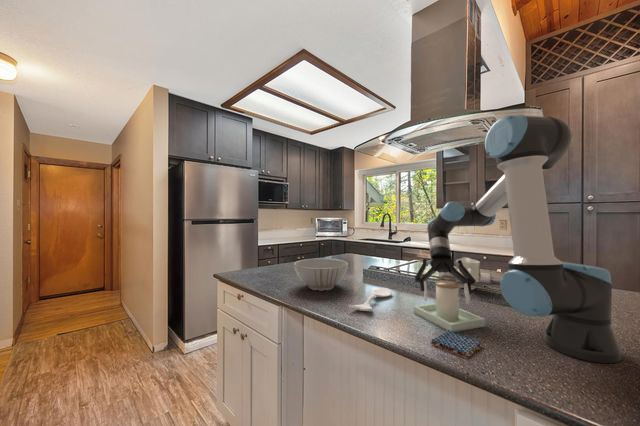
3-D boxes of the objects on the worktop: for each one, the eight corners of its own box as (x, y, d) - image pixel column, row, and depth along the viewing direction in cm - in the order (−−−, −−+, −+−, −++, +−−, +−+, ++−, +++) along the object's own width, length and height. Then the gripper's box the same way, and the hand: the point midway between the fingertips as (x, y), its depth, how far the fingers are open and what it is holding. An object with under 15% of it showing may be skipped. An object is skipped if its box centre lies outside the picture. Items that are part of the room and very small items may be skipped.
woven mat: (428, 346, 80) (428, 339, 80) (446, 335, 86) (446, 328, 86) (466, 361, 72) (466, 353, 72) (483, 348, 78) (483, 341, 78)
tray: (485, 326, 92) (485, 318, 92) (451, 332, 87) (451, 324, 87) (443, 308, 108) (443, 301, 108) (413, 313, 104) (413, 306, 104)
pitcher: (457, 293, 128) (457, 263, 128) (453, 283, 145) (453, 256, 145) (484, 295, 125) (484, 264, 125) (477, 285, 142) (477, 257, 141)
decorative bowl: (330, 299, 121) (330, 271, 121) (282, 289, 135) (282, 264, 135) (357, 285, 143) (357, 261, 143) (314, 278, 158) (313, 256, 158)
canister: (464, 319, 96) (463, 284, 95) (446, 323, 93) (446, 286, 93) (447, 312, 102) (447, 279, 102) (431, 315, 100) (430, 281, 100)
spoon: (347, 313, 105) (347, 304, 104) (375, 291, 132) (375, 284, 132) (370, 318, 100) (370, 308, 100) (394, 294, 128) (394, 287, 128)
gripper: (473, 257, 111) (484, 308, 96) (407, 255, 117) (408, 303, 103) (476, 246, 106) (489, 298, 91) (407, 244, 112) (409, 292, 98)
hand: (446, 300), depth 97 cm, fingers open, 13 cm apart
